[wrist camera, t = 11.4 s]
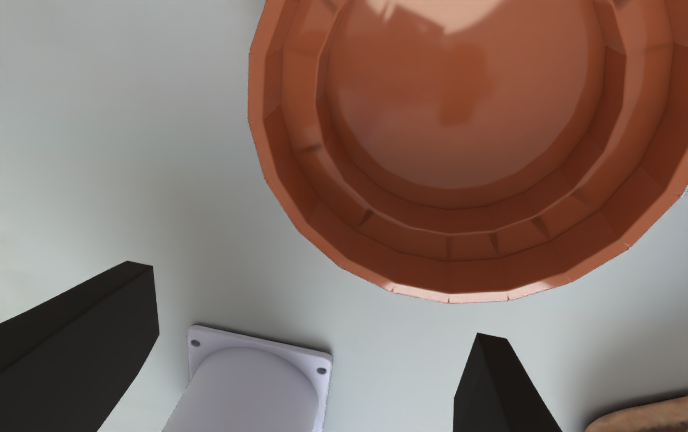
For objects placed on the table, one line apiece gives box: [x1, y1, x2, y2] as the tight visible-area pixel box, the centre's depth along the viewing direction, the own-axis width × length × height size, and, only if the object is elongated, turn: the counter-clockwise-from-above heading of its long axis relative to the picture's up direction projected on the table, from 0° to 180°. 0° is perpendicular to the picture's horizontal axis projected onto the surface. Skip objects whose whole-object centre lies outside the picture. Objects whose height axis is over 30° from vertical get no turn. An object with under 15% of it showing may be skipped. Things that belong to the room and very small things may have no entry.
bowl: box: [248, 0, 688, 304], centre depth 15 cm, size 13×13×4 cm
